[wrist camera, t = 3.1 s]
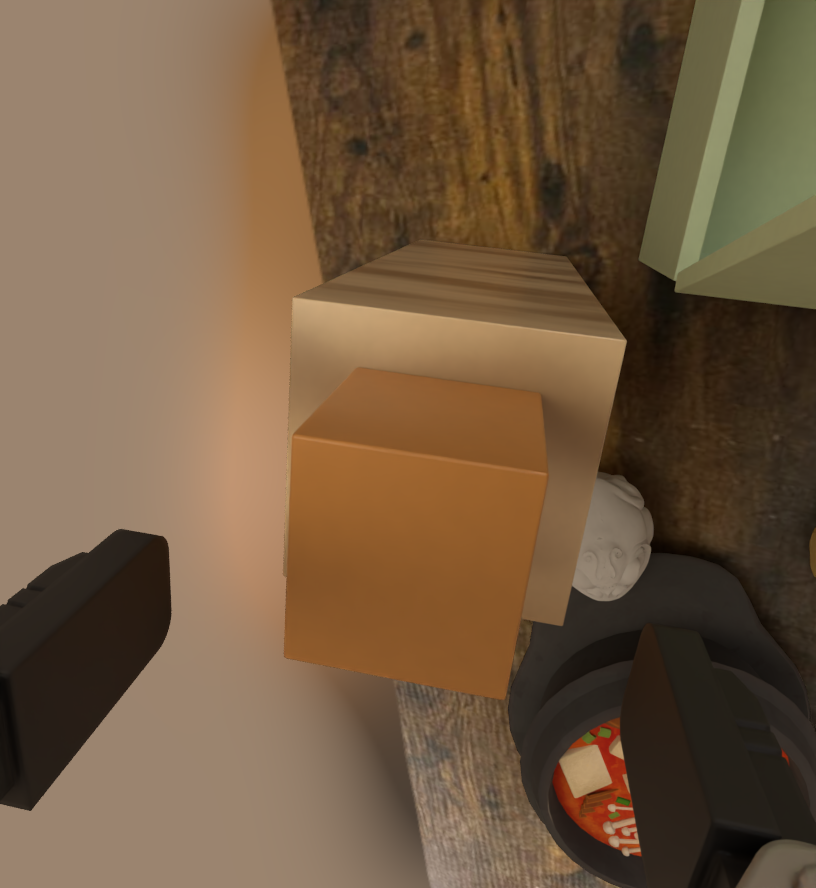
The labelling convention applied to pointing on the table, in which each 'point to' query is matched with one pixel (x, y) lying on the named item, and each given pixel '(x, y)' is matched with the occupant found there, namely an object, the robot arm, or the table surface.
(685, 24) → the table surface
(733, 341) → the table surface
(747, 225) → the chest
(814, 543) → the cupcake
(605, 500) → the frog figurine
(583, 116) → the table surface
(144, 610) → the robot arm
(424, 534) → the orange rectangular box
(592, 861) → the casserole
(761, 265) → the lid
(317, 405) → the tall wooden pillar
